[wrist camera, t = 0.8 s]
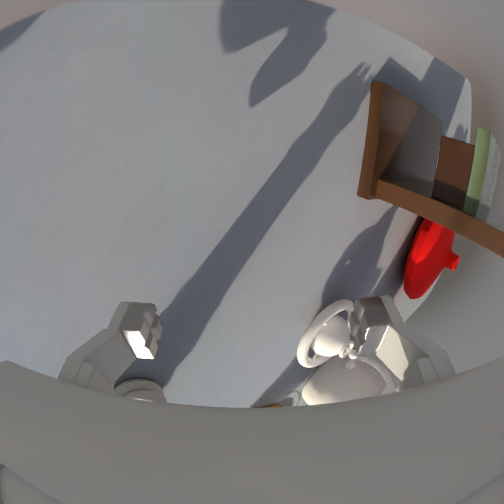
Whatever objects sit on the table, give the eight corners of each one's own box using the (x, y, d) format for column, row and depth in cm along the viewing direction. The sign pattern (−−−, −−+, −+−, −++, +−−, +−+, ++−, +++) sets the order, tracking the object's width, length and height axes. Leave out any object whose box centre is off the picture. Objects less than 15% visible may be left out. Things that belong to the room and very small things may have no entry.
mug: (297, 406, 35) (348, 457, 27) (303, 363, 29) (374, 429, 21) (341, 373, 39) (391, 416, 31) (356, 325, 33) (423, 375, 25)
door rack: (356, 195, 21) (521, 276, 10) (371, 81, 17) (554, 126, 6) (422, 192, 30) (521, 239, 18) (434, 119, 25) (539, 156, 14)
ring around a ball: (281, 367, 26) (333, 339, 30) (317, 402, 22) (368, 365, 26) (292, 305, 23) (349, 282, 27) (340, 343, 19) (392, 308, 23)
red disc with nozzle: (420, 276, 43) (450, 293, 38) (379, 303, 35) (418, 329, 30) (445, 194, 36) (480, 209, 31) (413, 194, 28) (463, 215, 23)
